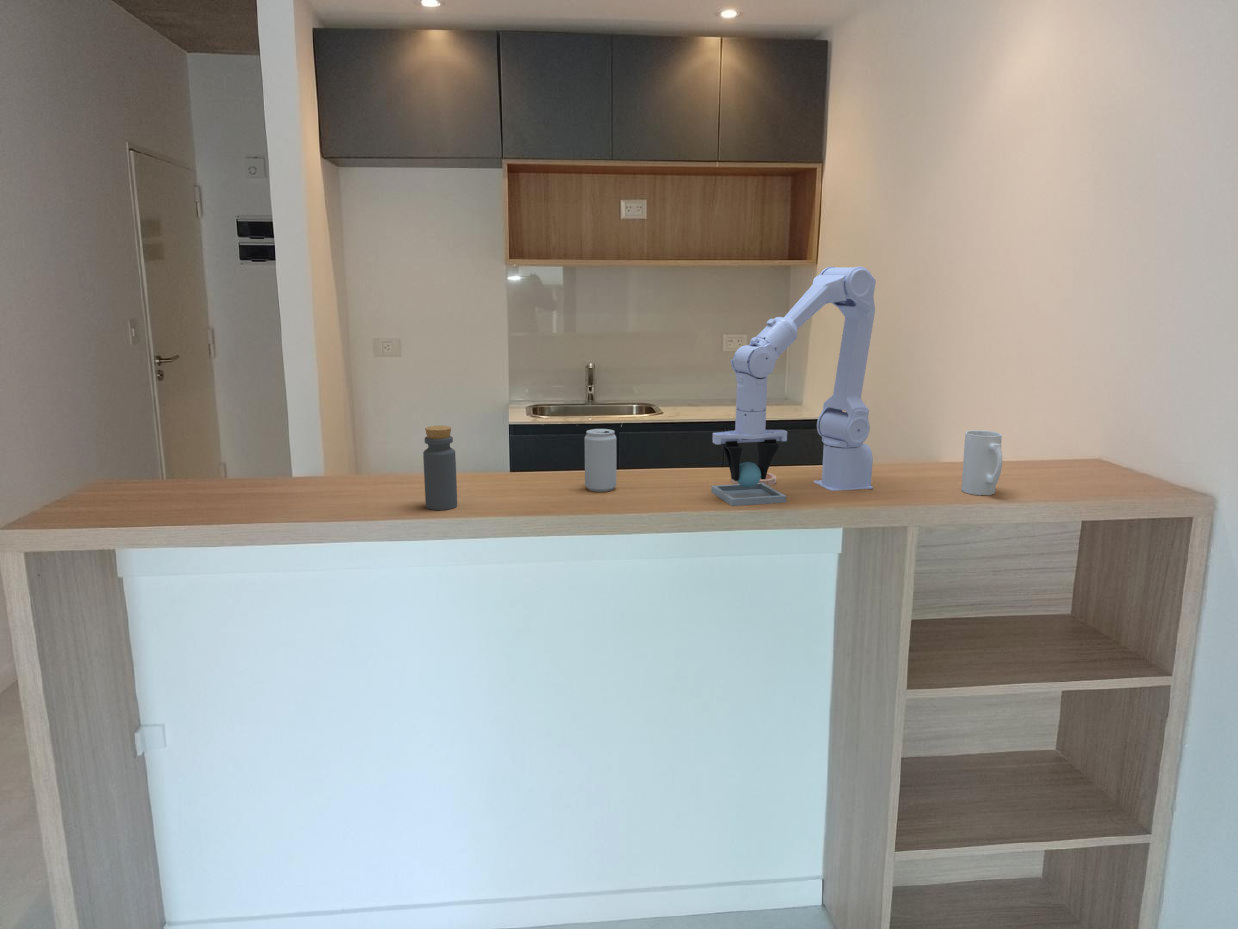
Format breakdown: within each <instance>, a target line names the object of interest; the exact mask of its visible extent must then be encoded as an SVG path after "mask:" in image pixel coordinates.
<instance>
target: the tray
mask: <svg viewBox="0 0 1238 929" xmlns="http://www.w3.org/2000/svg"><path fill="white" fill-rule="evenodd" d="M710 490H711V491H710V492H711V493H712V494H713V495H714V496H717V497H718V498H719V499H721V500H722V501H724V502H725V503H727V504H728V505H729V506H731V507H738V506H739V507H740V506H753V505H754V506H755V505H768V504H782V503H787V495H785V494H784V493H782V492H780V491H778V490H777V489H775V488H773V487H772V486H768V485H766V484H764V483H758V484H757V485H755V486H753V487H750V488H747V487H743V486H741V485H740V484H734V483H732V484H720V485H719V484H718V485H711V488H710Z"/></svg>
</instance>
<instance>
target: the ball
mask: <svg viewBox="0 0 1238 929" xmlns="http://www.w3.org/2000/svg"><path fill="white" fill-rule="evenodd" d="M760 479H761V471H760V468H759V467H758V464H756V463H754V462H752V461H744V462H742V463H739V480H738V481H737V482H738V483H739V484H740V485H741V486H743V487H747V488H750V487H753V486H755V485H757V484H758V483H759V481H760Z"/></svg>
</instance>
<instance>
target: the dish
mask: <svg viewBox="0 0 1238 929" xmlns="http://www.w3.org/2000/svg"><path fill="white" fill-rule="evenodd" d="M730 482H731V483H732V484H739V483H738V482H737V481H734V480H733V479H731V478H730ZM759 483H764V484H766V485H768V486H770V487H773V486H774V485H776V483H777V476H776V475H775V474H774V473H771V472H767V475H766V479H760V481H759Z"/></svg>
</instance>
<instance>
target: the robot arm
mask: <svg viewBox="0 0 1238 929" xmlns="http://www.w3.org/2000/svg"><path fill="white" fill-rule="evenodd" d="M876 282H877V281H876V279H875V277H874V276H873V274H872V273H871V272H870V271H869V270H868V269H867V268H866V267H864V266H855V267H854V266H852V267H850V266H848V267H847V266H846V267H841V266H839V267H835V266H827V267H825V268H824V269H822V270H821V271H820V273H819V274H818V275H816V276H815V277H814V278H813V281H812V284H811V286H810V287H809V288H808V289H807V290H806V291H805V293H804V294H802V296H801V297H800V299H799V300H798V301H797V302H796V303H795V304H794V305H793V307H791V308H790V309H789V311H788V312H787V313H786V314H785V315H784V317H783V316H776V317H774V318H770V319H768V320H767V322H766V326H765V327H764V328H763V329H762V330H761V331H760V332H759V333H758V334H757V335H756V336H754V337H752V338H750V340H749V341H750V342H749V344H745V345H742V346H740V347H739V348H737V349H736V351H735V353H734V354H733V359H731V360H730V365H731V368H732V370H733V372H734V374H735V381H736V399H735V424H734V427H735V429H734V430H728V431H721V432H712V443H713V444H714V445H720V448H721V449H722V451H723V453H724V455H725V458H726V461H727V463H728V467H729V471H730V480H731V479H733V480H734V481H738V480H739V465H740V464H741V463H740V461H741V457H742V456H741V455H742V450H743V448H742V447H741V446H740V445H739V443H756V444H757V445H756V446H757V451H758V452H757V454H758V455H757V456H758V463H757V466H758V467H759V468H760V471H761V479H766V475H767V473H768V471H769V468H770V465H771V462H772V460H773V458H774V457H775V455H776V453H777V452H778V451H779V448H780V444H779V443H778V442H787V441H788V431H787V430H784V429H766V427H767V426H766V424H767V422H766V421H767V404H768V402H767V400H768V398H767V397H768V376H769V375H770V374H772V373H773V371H774V369H775V367H776V362H777V360H779V357H780V356H781V355H782V354H784V352H785V351H786V350H787V349H788V348H789V347H790V346H791V345H792V344H793V343H794V342H795V341H796V340H797V339H798V329H799V328H801V327H802V326H803V325H804V324H805V323H806V322H808V320H809V319H810V318H811V317H813V316H814V315H815V314H817V312H818V311H820V310H821V309H822V308H823V307H824V306H825V305H827V304H833V305H834V306H835V307H836V308H838V309H839V311H840V312H841V313H842V315H843V316H844V323H843V330H842V335H841V336H842V337H841V342H840V348H839V354H838V355H839V356H838V362H837V368H836V373H835V380H834V381H835V382H834V386H833V387H834V388H833V393H832V395H831V396H830V397H828V398H827V400H825V401H824V402H823V405H822V410H821V413H820V414H819V416H818V418H817V421H816V430H817V433H818V435H819V436H820V437H821V442H822V443H823V451H822V452H823V454H822V469H821V479H819V480H813V483H814V484H816V485H818V486H820V487H822V488H824V489H826V490H828V491H830V492H834V491H835V492H838V491H852V490H865V489H866V490H873V486H872V476H873V475H872V474H873V473H872V472H873V459H874V458H873V453H872V449H871V447H870V445H868V444H867V443H865V441H867V439H868V437H869V435H870V430H871V429H870V422H869V414H870V413H869V412H870V409H869V408H868V407H867V405H866V404H865V403H864V401H863V399H862V393H863V386H864V383H865V382H864V381H865V374H866V370H867V369H866V368H867V363H868V362H867V361H868V357H869V352H870V350H869V349H870V345H871V339H872V338H871V337H872V333H873V326H874V322H875V320H874V319H875V313H876V307H875V306H876V305H875V299H874V294H875V290H876Z"/></svg>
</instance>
